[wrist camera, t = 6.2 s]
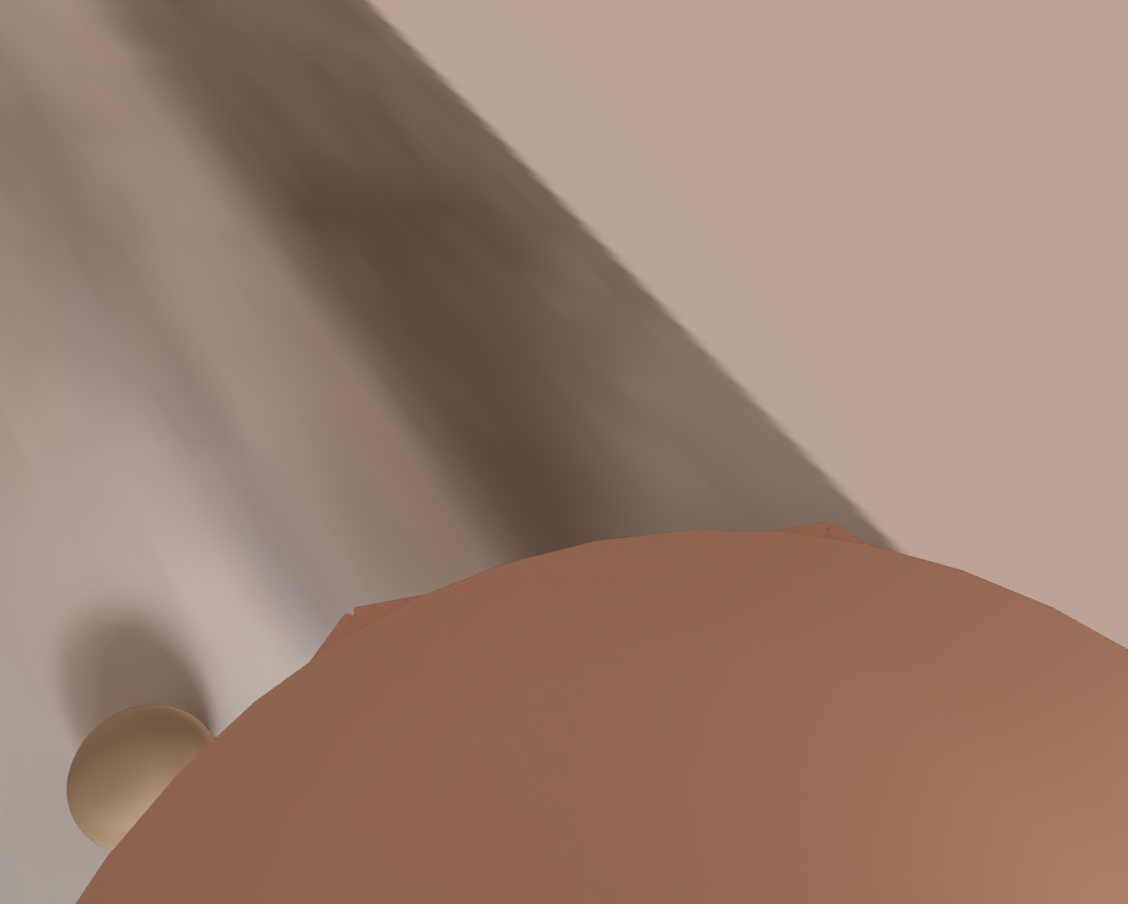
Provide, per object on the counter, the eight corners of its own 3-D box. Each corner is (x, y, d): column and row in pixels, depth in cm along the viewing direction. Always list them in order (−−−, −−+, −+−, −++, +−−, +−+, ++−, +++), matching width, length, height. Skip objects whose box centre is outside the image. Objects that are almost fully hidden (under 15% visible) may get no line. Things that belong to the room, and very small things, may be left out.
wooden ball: (260, 799, 21) (210, 819, 18) (137, 865, 20) (65, 895, 17) (212, 680, 21) (155, 679, 18) (92, 741, 21) (16, 750, 18)
